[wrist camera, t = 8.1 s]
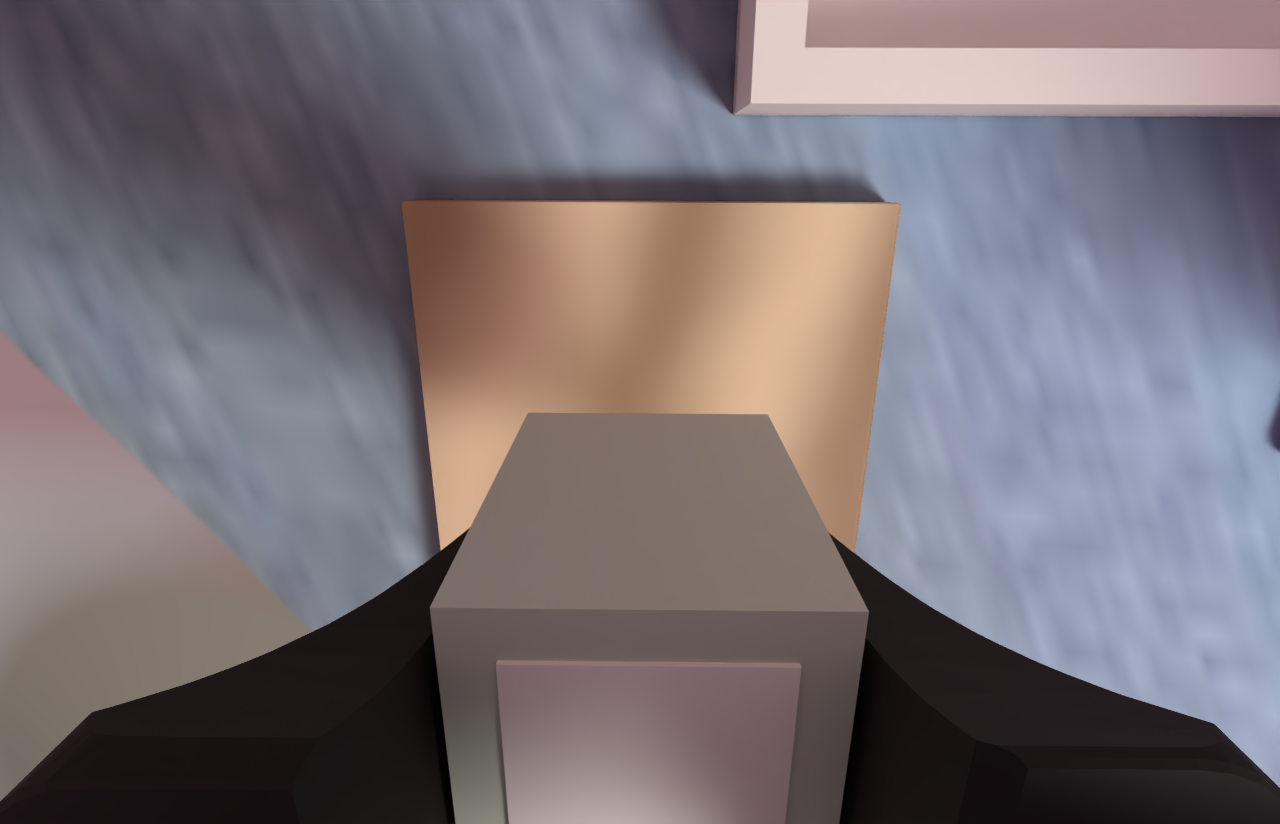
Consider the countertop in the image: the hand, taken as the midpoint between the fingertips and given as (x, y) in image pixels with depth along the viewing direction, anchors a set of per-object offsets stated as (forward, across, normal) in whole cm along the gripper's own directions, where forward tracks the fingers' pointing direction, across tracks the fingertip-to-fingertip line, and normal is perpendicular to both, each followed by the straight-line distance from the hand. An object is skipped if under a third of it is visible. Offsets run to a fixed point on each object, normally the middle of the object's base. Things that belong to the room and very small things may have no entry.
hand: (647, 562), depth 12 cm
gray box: (+1, 0, 0) cm, 1 cm away
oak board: (+7, 0, 0) cm, 7 cm away
